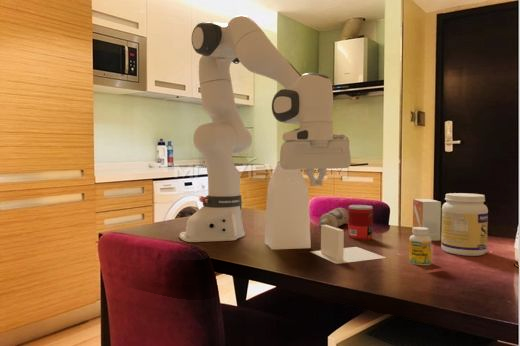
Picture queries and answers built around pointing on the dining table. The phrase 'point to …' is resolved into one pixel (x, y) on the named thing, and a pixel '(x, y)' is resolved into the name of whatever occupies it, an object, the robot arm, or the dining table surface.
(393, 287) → the dining table surface
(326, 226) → the tile
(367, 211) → the canned food
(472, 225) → the supplement tub
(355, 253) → the mat
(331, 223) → the decorative bottle
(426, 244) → the supplement bottle
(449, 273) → the dining table surface
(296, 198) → the milk
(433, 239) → the small box
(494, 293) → the dining table surface
